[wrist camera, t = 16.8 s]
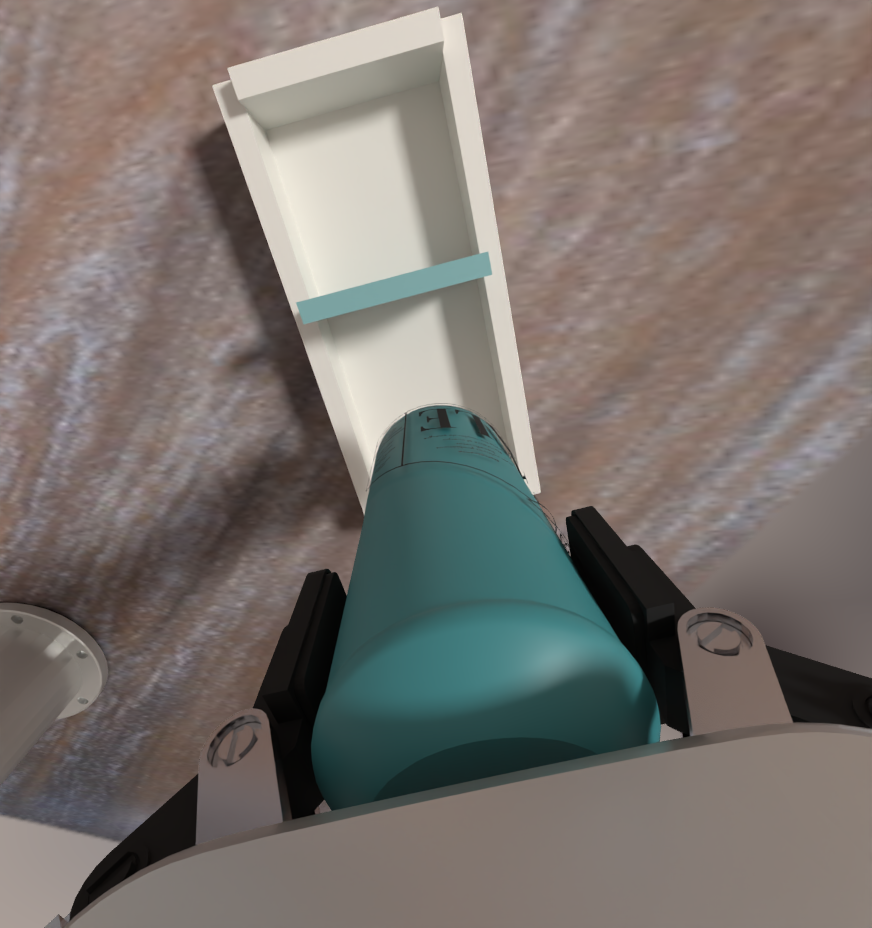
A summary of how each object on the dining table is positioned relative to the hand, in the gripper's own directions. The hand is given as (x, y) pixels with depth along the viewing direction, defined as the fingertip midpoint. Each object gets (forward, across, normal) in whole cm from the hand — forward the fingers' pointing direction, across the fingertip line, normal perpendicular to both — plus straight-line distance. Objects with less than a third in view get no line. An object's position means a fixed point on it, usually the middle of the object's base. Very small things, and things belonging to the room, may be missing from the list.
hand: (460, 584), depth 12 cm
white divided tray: (+20, 0, -6) cm, 21 cm away
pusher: (+19, 0, -8) cm, 21 cm away
